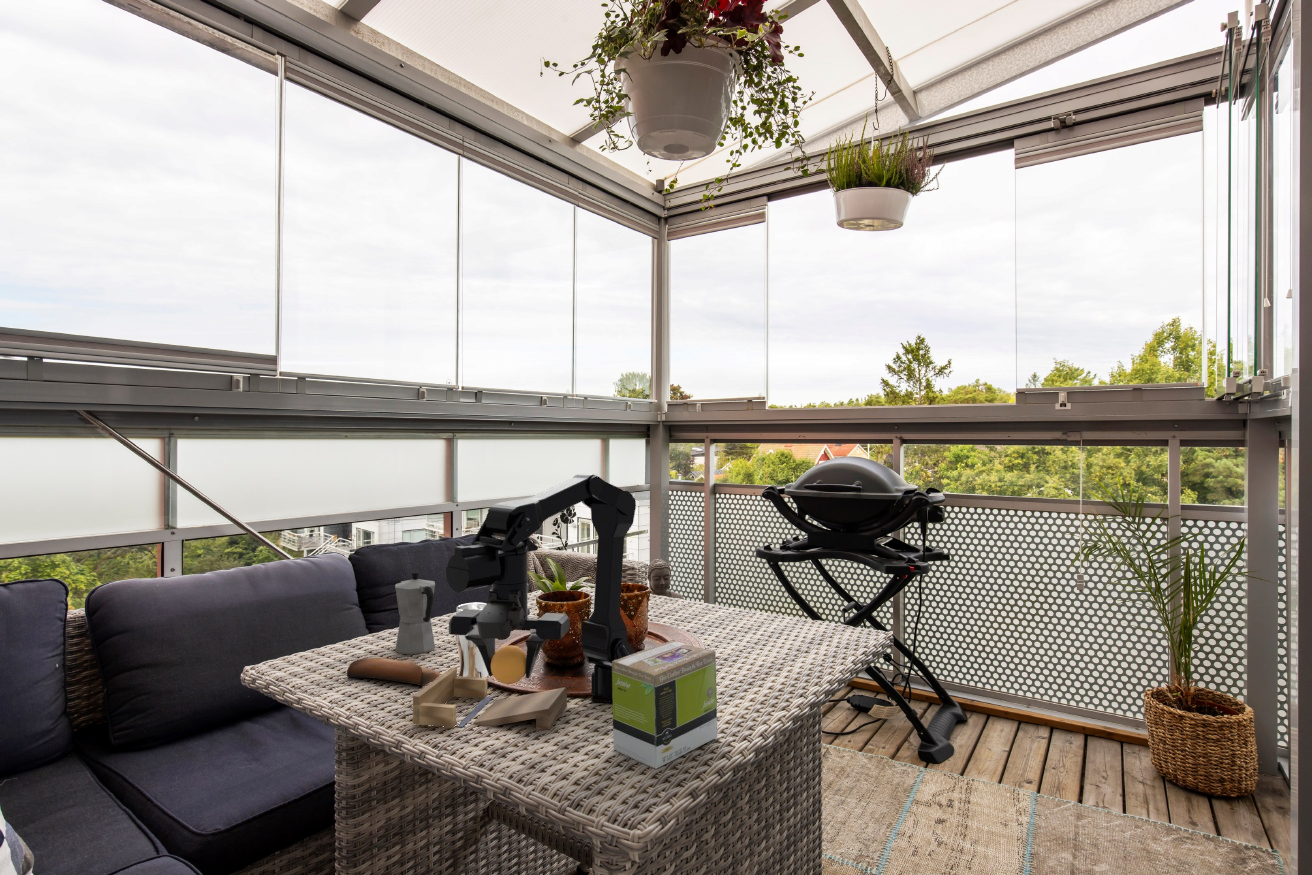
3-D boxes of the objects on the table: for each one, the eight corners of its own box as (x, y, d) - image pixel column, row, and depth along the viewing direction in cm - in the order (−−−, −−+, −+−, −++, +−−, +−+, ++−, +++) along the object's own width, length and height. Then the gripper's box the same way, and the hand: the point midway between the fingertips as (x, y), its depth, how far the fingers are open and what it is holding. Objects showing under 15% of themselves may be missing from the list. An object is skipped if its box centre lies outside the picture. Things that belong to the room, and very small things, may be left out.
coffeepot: (384, 646, 163) (384, 569, 163) (422, 637, 169) (422, 564, 169) (411, 662, 152) (411, 580, 151) (451, 653, 158) (451, 574, 158)
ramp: (567, 711, 128) (567, 687, 128) (549, 735, 118) (549, 708, 118) (495, 706, 130) (495, 682, 130) (473, 729, 120) (473, 703, 120)
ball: (533, 677, 115) (533, 641, 115) (521, 690, 109) (521, 652, 109) (498, 675, 116) (498, 639, 116) (484, 688, 110) (484, 651, 110)
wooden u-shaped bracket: (494, 696, 132) (494, 670, 132) (460, 728, 118) (460, 699, 118) (451, 693, 134) (451, 667, 134) (412, 724, 120) (412, 696, 120)
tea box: (673, 721, 121) (674, 637, 121) (718, 739, 114) (719, 650, 114) (610, 750, 111) (610, 658, 110) (655, 771, 104) (656, 673, 103)
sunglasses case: (446, 673, 145) (436, 650, 142) (429, 701, 139) (418, 678, 136) (373, 664, 150) (362, 643, 147) (354, 691, 144) (342, 669, 141)
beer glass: (481, 687, 137) (481, 611, 137) (449, 684, 139) (448, 609, 138) (496, 674, 144) (496, 603, 144) (465, 672, 145) (465, 601, 145)
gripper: (432, 590, 106) (432, 691, 106) (550, 594, 103) (550, 698, 103) (463, 575, 117) (463, 666, 117) (570, 578, 114) (570, 672, 114)
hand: (509, 676), depth 113 cm, fingers closed on ball, 6 cm apart
